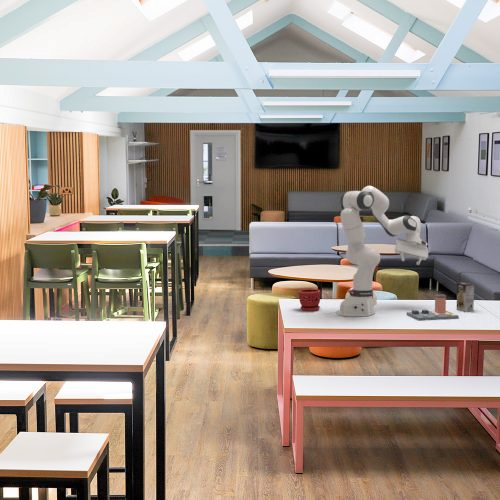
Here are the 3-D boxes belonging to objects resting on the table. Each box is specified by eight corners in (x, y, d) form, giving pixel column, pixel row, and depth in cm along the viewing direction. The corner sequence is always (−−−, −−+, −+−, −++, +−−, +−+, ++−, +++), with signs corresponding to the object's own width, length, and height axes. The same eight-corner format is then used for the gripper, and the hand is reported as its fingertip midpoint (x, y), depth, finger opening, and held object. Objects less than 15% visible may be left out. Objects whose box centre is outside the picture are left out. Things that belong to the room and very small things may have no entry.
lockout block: (437, 313, 443) (438, 296, 442) (434, 311, 448) (434, 294, 447) (446, 313, 444) (446, 295, 443) (442, 311, 449) (442, 294, 448)
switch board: (418, 320, 432) (418, 314, 431) (406, 314, 448) (406, 309, 448) (458, 318, 436) (458, 312, 436) (445, 312, 453) (445, 307, 453)
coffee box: (455, 309, 464) (456, 282, 463) (465, 308, 466) (465, 281, 465) (464, 311, 456) (465, 284, 454) (474, 311, 458) (474, 284, 456)
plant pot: (320, 307, 473) (320, 288, 471) (320, 312, 460) (320, 291, 458) (299, 307, 474) (298, 288, 472) (298, 311, 461) (298, 291, 460)
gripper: (398, 235, 463) (396, 256, 457) (430, 243, 466) (428, 264, 460) (394, 239, 469) (392, 260, 463) (425, 248, 472) (424, 268, 466)
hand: (410, 262), depth 462 cm, fingers open, 8 cm apart
